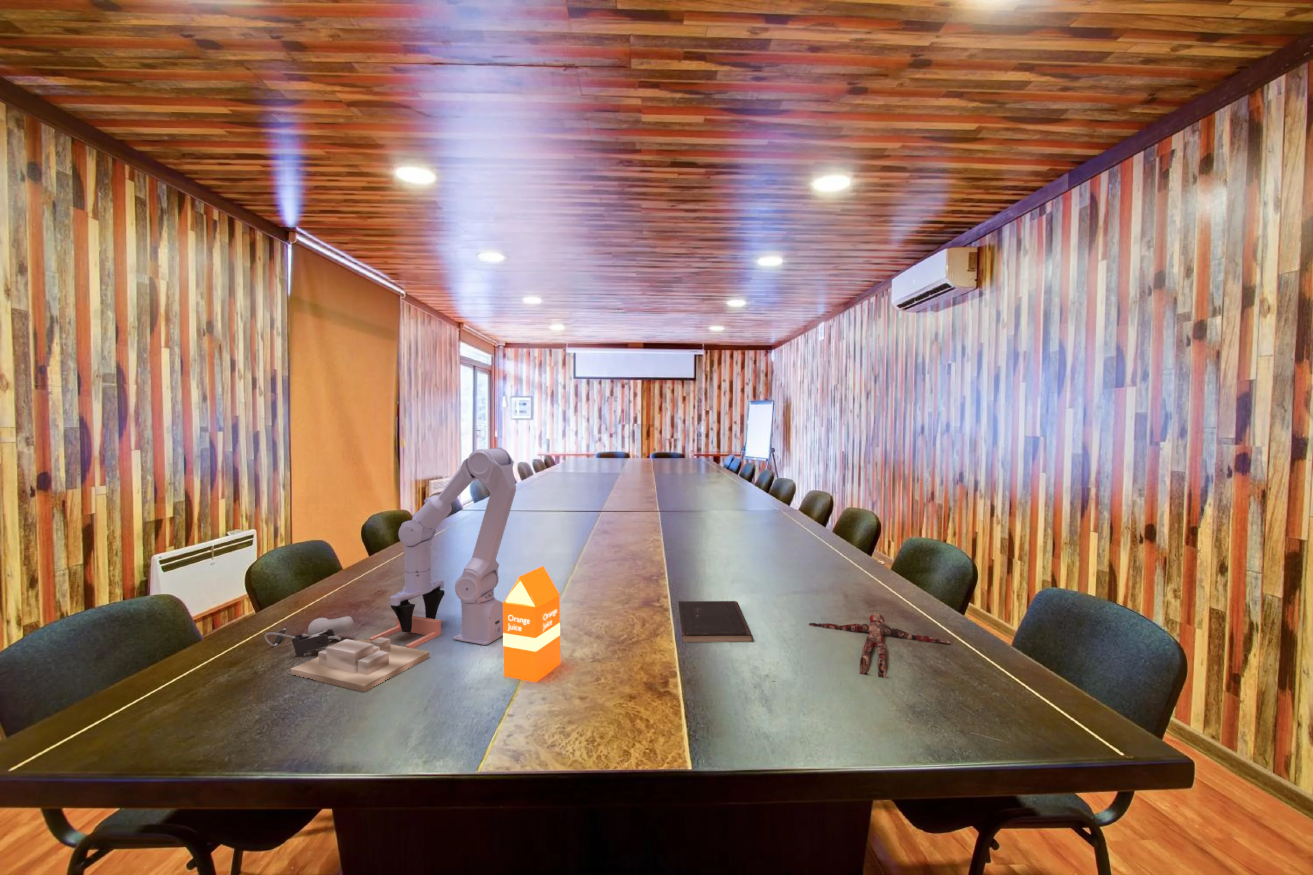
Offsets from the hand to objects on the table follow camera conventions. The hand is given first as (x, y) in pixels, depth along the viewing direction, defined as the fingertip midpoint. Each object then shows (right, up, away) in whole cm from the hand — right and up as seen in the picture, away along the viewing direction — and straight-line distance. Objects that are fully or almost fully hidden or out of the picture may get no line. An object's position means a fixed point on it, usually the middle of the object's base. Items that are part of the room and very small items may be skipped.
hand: (419, 626), depth 129 cm
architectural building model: (-4, -2, -18) cm, 18 cm away
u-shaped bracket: (-1, -2, -4) cm, 4 cm away
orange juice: (+32, -2, -20) cm, 38 cm away
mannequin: (+105, -2, -10) cm, 105 cm away
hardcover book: (+70, -2, +4) cm, 71 cm away
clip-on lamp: (-22, -2, -7) cm, 23 cm away
